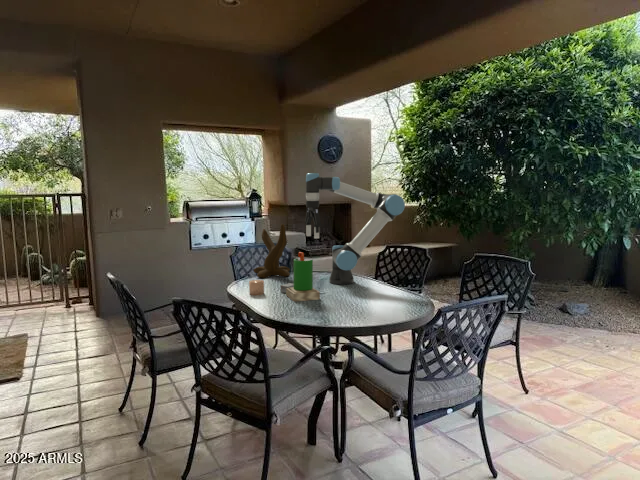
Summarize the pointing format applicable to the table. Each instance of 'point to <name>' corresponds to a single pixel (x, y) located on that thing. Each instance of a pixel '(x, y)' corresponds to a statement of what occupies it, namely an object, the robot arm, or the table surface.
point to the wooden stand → (273, 256)
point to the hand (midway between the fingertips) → (312, 237)
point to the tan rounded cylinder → (256, 287)
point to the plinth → (302, 294)
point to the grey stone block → (283, 287)
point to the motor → (303, 273)
